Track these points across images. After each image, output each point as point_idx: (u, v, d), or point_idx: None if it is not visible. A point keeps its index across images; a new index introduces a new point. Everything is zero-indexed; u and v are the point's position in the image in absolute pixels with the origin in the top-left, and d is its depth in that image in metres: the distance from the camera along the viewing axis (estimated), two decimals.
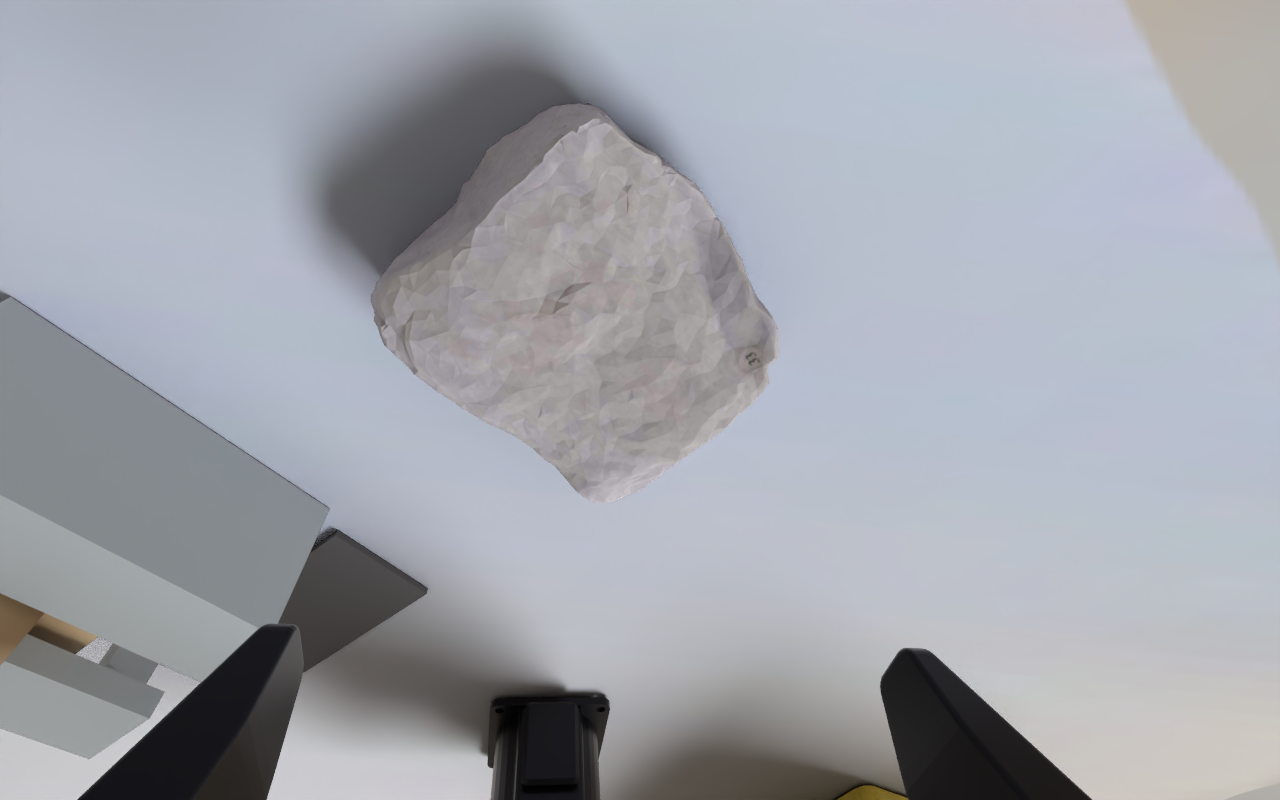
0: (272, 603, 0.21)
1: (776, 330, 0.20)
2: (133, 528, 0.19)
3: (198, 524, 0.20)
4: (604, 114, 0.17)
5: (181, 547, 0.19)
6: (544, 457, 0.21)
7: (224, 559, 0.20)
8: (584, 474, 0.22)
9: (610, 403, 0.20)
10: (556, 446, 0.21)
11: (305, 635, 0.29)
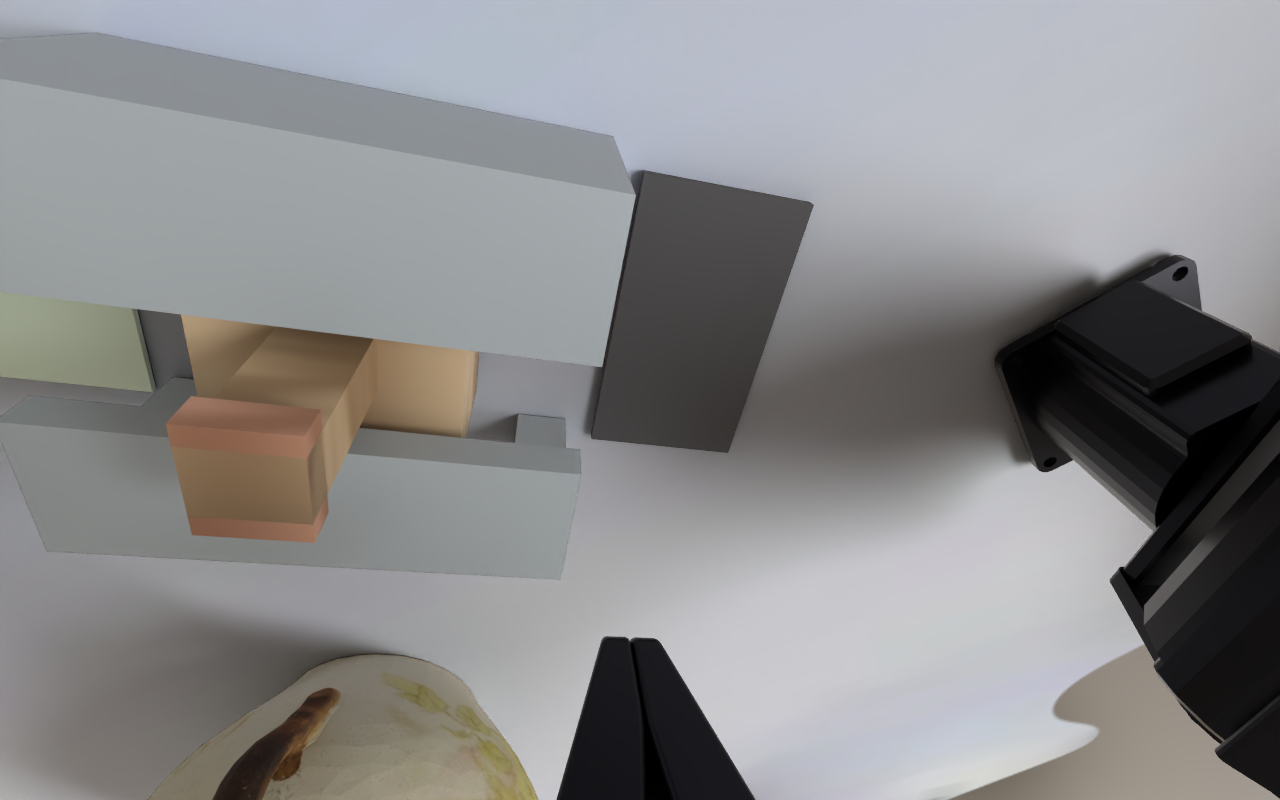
0: (608, 177, 0.12)
1: None
2: (352, 129, 0.11)
3: (444, 132, 0.13)
4: None
5: (434, 142, 0.12)
6: None
7: (504, 151, 0.12)
8: None
9: None
10: None
11: (703, 378, 0.20)
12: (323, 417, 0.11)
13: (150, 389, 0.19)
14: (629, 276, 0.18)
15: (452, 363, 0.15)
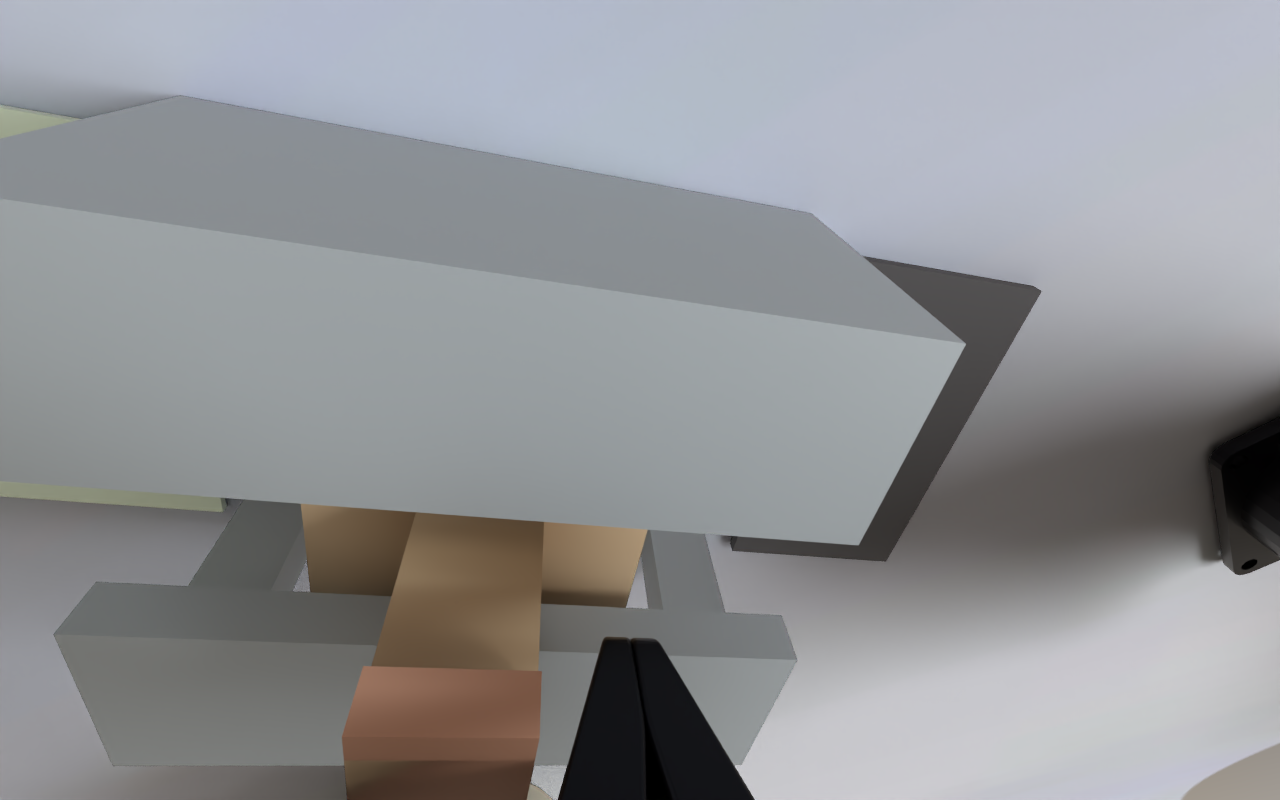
0: (900, 306, 0.09)
1: None
2: (570, 255, 0.08)
3: (664, 241, 0.09)
4: None
5: (674, 265, 0.08)
6: None
7: (754, 270, 0.09)
8: None
9: None
10: None
11: None
12: (529, 664, 0.08)
13: (221, 509, 0.15)
14: None
15: None
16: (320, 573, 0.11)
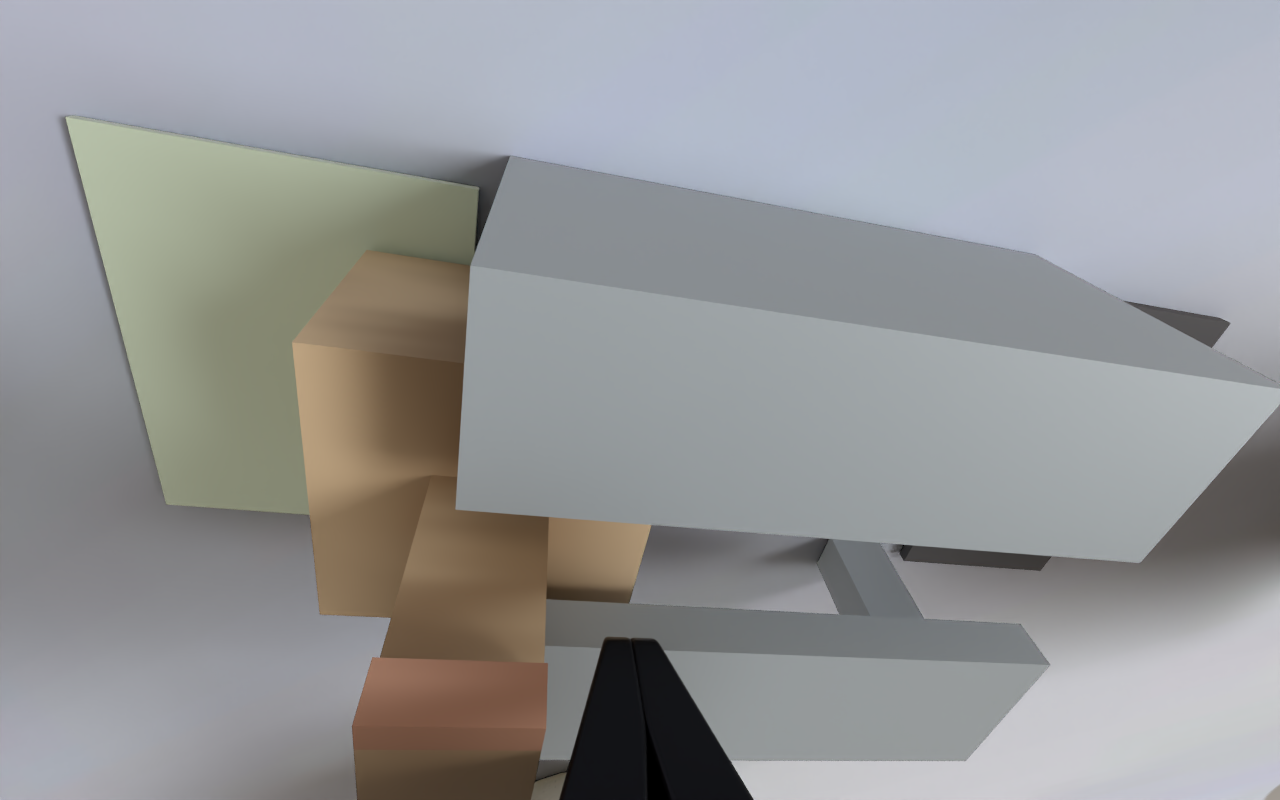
0: (1209, 354, 0.10)
1: None
2: (953, 313, 0.09)
3: (988, 294, 0.10)
4: None
5: (1025, 320, 0.10)
6: None
7: (1077, 321, 0.10)
8: None
9: None
10: None
11: None
12: (535, 657, 0.08)
13: None
14: None
15: None
16: (327, 568, 0.11)
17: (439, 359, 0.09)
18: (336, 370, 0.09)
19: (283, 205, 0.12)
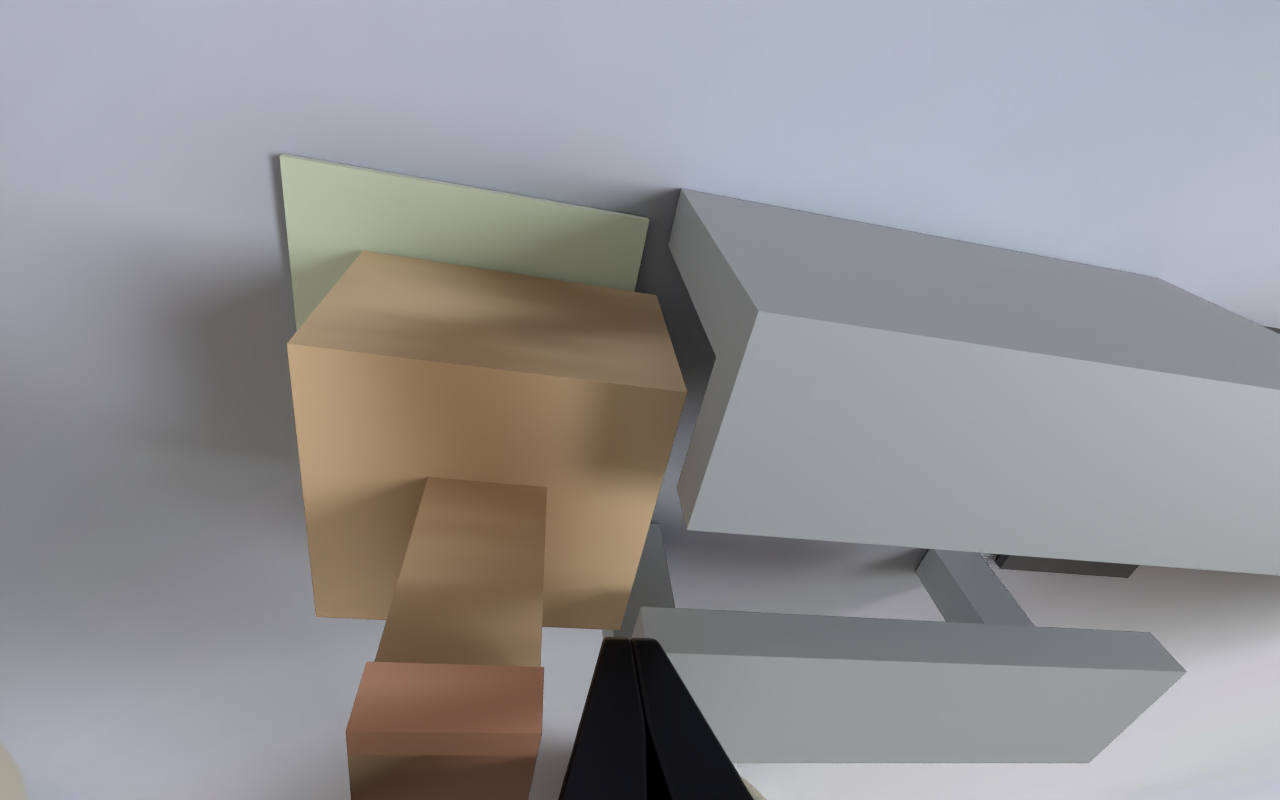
0: None
1: None
2: (1146, 346, 0.10)
3: (1156, 324, 0.11)
4: None
5: (1206, 350, 0.10)
6: None
7: (1245, 350, 0.11)
8: None
9: None
10: None
11: None
12: (531, 661, 0.08)
13: None
14: None
15: (635, 517, 0.11)
16: (323, 571, 0.11)
17: (435, 361, 0.09)
18: (331, 372, 0.09)
19: (467, 236, 0.12)
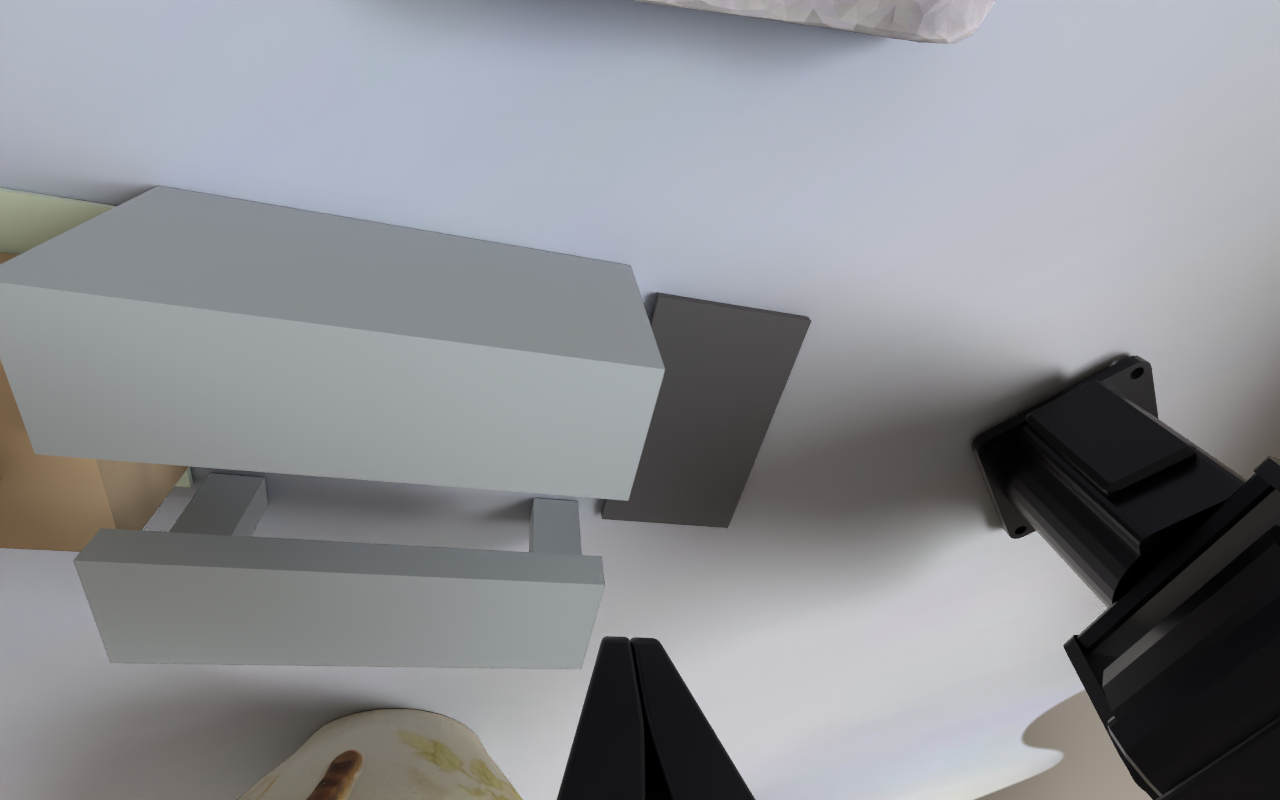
0: (638, 343, 0.14)
1: None
2: (413, 312, 0.13)
3: (489, 298, 0.14)
4: None
5: (485, 318, 0.13)
6: (830, 21, 0.13)
7: (544, 319, 0.14)
8: None
9: None
10: None
11: (706, 465, 0.22)
12: None
13: (189, 485, 0.20)
14: None
15: None
16: None
17: None
18: None
19: None
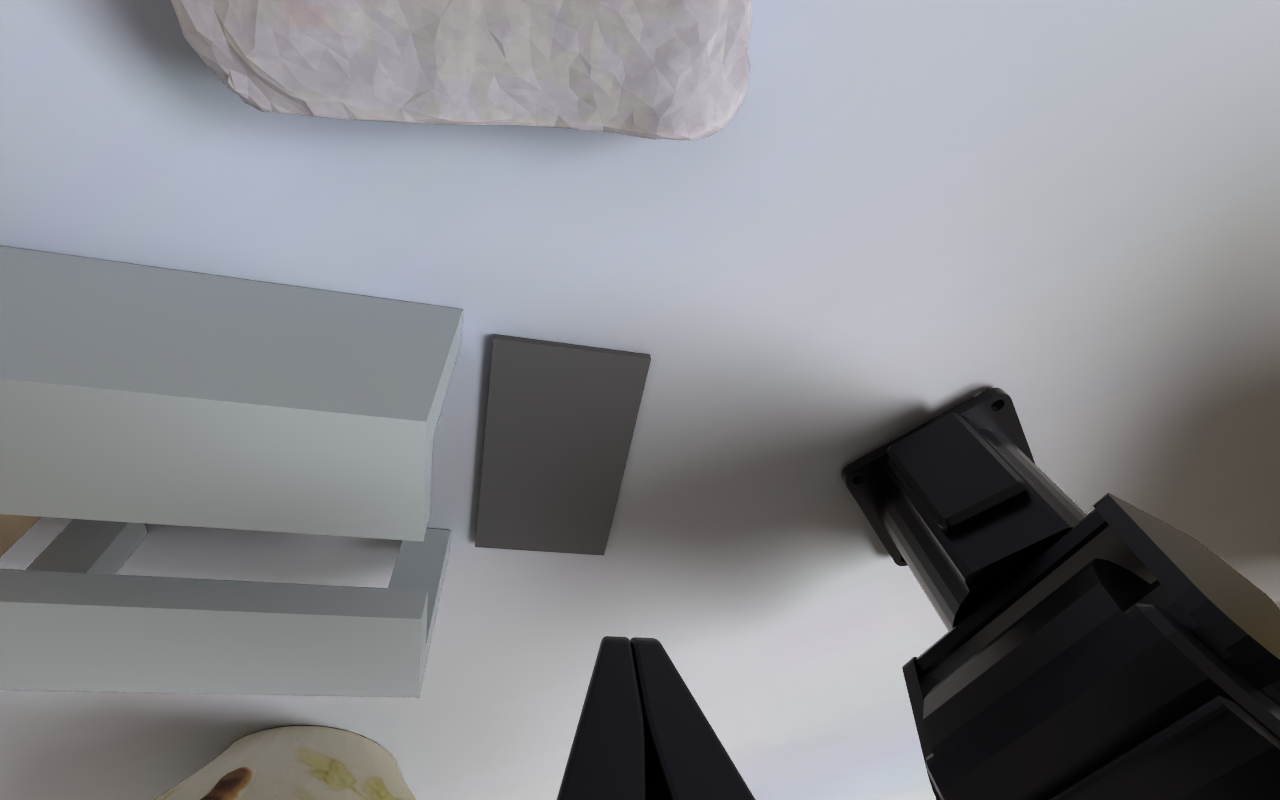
0: (414, 395, 0.14)
1: None
2: (187, 370, 0.13)
3: (279, 351, 0.15)
4: None
5: (261, 373, 0.14)
6: (577, 125, 0.14)
7: (326, 372, 0.14)
8: (642, 102, 0.13)
9: None
10: (573, 91, 0.13)
11: (571, 496, 0.23)
12: None
13: None
14: (491, 418, 0.21)
15: None
16: None
17: None
18: None
19: None
